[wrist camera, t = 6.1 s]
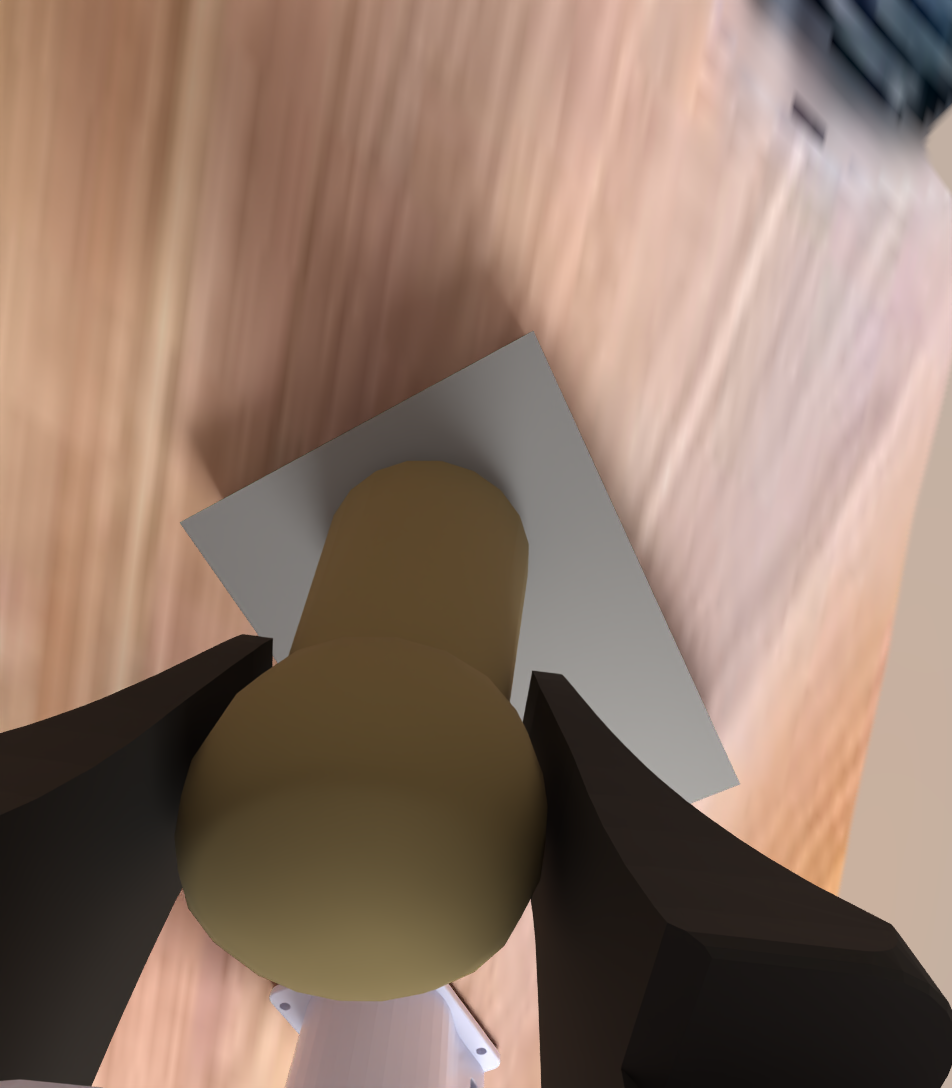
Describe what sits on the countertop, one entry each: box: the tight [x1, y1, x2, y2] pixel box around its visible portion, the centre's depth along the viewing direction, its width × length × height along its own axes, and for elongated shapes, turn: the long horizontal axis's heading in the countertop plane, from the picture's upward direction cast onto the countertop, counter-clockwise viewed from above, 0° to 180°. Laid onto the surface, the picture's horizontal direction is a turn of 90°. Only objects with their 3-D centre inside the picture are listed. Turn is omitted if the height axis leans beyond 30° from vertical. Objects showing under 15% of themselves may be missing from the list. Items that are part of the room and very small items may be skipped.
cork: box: [174, 461, 548, 1001], centre depth 12 cm, size 6×6×11 cm
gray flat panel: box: [180, 331, 740, 804], centre depth 20 cm, size 17×12×3 cm
